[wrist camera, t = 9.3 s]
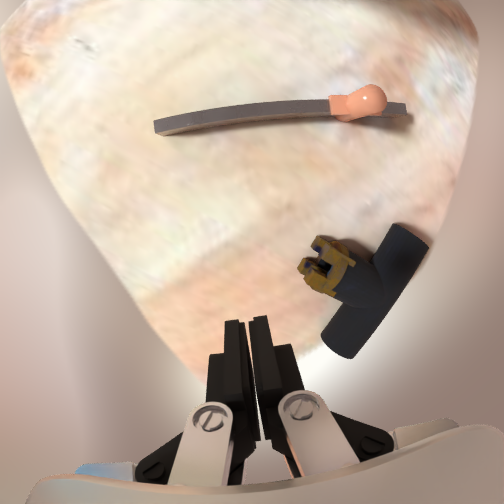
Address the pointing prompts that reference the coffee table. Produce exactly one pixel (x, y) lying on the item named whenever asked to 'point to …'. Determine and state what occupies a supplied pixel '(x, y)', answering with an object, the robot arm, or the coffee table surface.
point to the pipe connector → (361, 285)
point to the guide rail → (287, 111)
